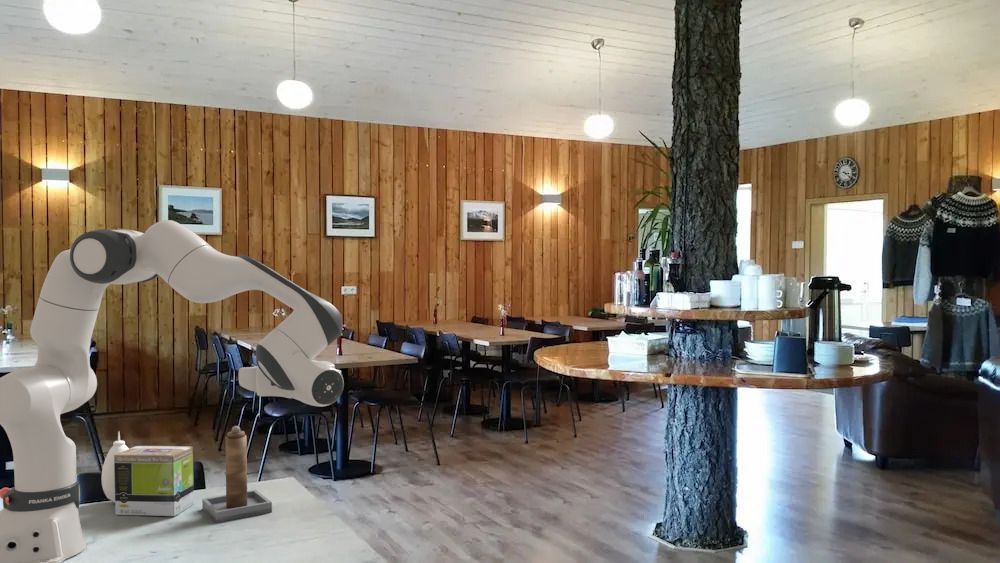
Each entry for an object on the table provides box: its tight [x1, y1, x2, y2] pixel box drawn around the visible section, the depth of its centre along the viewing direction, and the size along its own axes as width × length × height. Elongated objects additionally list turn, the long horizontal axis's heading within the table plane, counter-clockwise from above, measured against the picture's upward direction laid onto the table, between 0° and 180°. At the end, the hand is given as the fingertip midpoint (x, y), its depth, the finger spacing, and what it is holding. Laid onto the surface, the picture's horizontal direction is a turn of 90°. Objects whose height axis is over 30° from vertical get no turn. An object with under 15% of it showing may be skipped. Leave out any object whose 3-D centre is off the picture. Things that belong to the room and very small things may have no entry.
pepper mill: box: [225, 425, 248, 509], centre depth 185 cm, size 5×5×20 cm
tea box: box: [114, 445, 195, 517], centre depth 186 cm, size 15×10×15 cm
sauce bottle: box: [101, 430, 130, 503], centre depth 192 cm, size 8×8×18 cm
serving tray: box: [202, 489, 273, 524], centre depth 186 cm, size 13×12×2 cm
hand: (276, 369), depth 173 cm, fingers open, 8 cm apart
